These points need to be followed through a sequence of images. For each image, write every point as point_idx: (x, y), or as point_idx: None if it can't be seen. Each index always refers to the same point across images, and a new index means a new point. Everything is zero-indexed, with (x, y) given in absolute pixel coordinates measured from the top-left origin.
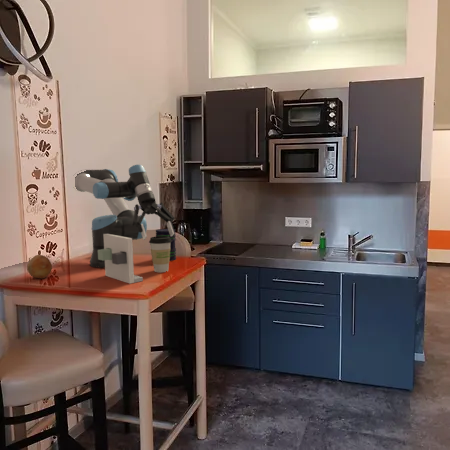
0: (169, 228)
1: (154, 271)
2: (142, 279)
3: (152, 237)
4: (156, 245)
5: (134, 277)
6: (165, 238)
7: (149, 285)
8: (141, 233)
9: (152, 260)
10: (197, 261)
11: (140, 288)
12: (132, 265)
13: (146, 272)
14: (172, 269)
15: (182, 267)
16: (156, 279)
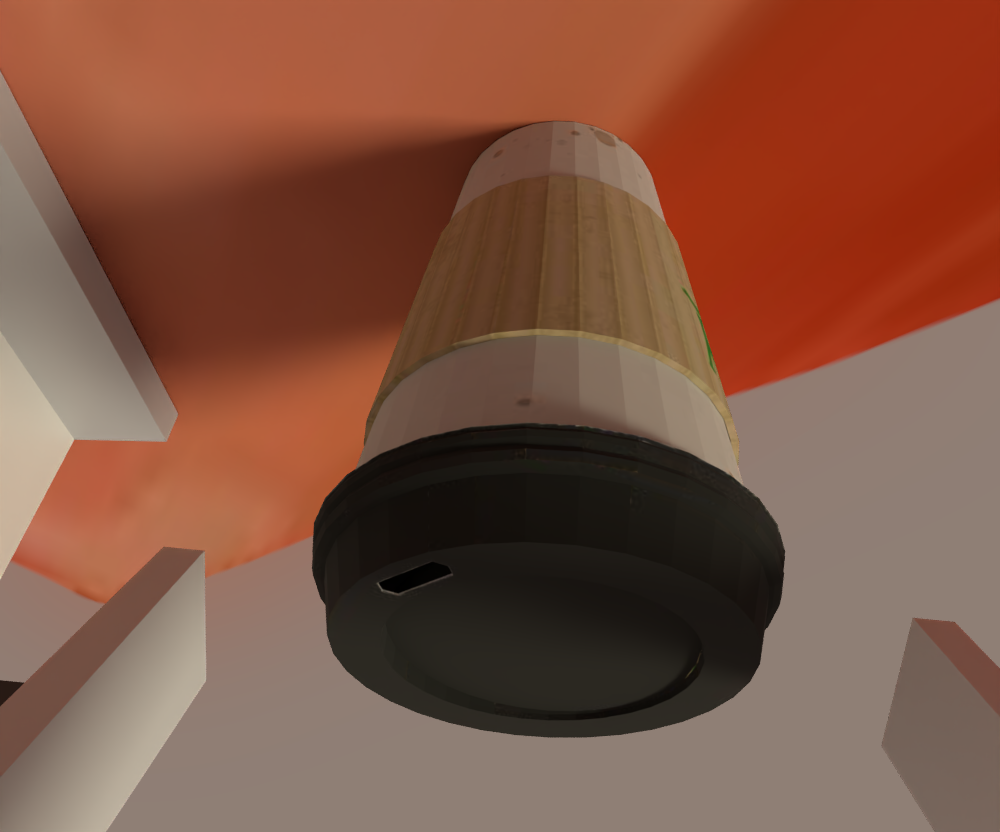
0: (994, 817)
1: (465, 180)
2: (171, 426)
3: (452, 536)
4: (395, 588)
5: (87, 405)
6: (544, 734)
7: (194, 520)
8: (74, 643)
9: (426, 271)
10: None
11: (111, 532)
12: (2, 554)
13: (350, 146)
14: (722, 239)
15: (907, 236)
16: (313, 442)
